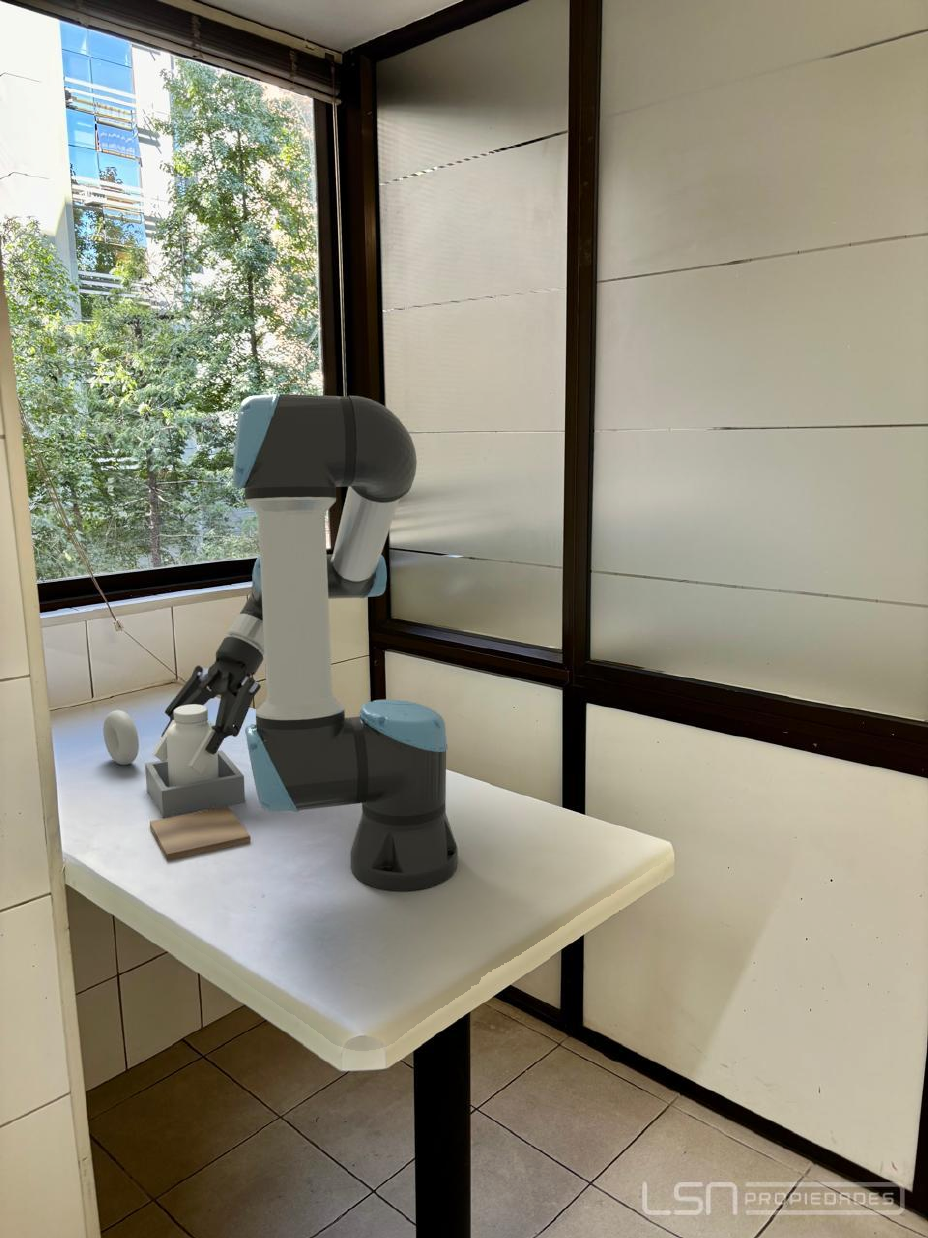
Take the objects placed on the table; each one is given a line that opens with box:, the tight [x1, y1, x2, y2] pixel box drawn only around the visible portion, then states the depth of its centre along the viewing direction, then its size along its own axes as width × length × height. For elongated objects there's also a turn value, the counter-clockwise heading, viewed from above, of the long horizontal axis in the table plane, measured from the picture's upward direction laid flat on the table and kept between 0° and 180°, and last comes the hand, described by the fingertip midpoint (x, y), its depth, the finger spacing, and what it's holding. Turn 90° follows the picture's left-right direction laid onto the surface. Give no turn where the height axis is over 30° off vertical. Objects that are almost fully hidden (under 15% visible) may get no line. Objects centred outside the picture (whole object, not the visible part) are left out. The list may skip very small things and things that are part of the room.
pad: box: [149, 805, 251, 862], centre depth 136 cm, size 12×12×1 cm
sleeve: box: [144, 750, 246, 819], centre depth 150 cm, size 13×13×4 cm
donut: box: [102, 709, 140, 766], centre depth 163 cm, size 10×4×10 cm, turn 43°
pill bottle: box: [167, 704, 219, 787], centre depth 149 cm, size 8×8×15 cm
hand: (176, 763), depth 146 cm, fingers closed on pill bottle, 8 cm apart
